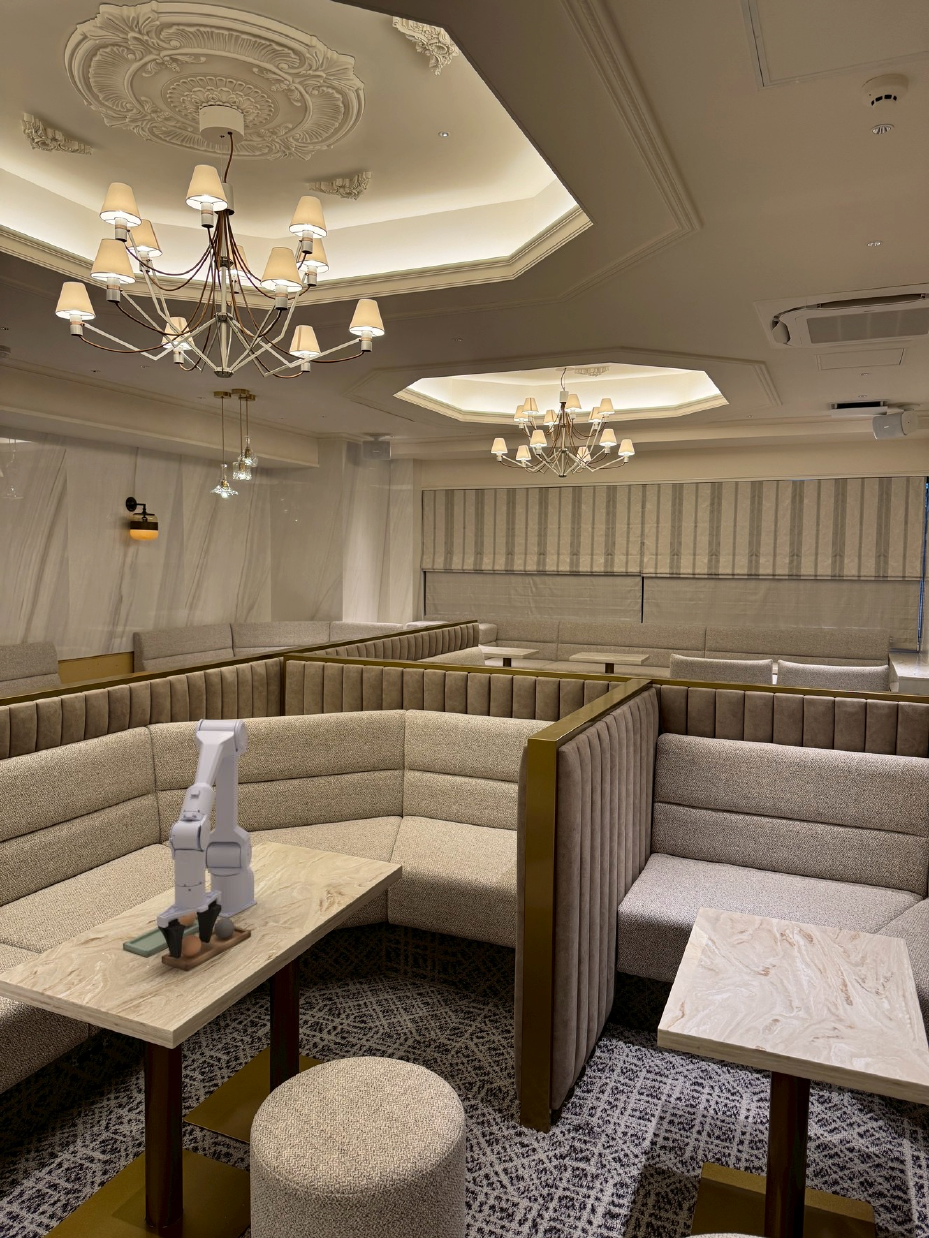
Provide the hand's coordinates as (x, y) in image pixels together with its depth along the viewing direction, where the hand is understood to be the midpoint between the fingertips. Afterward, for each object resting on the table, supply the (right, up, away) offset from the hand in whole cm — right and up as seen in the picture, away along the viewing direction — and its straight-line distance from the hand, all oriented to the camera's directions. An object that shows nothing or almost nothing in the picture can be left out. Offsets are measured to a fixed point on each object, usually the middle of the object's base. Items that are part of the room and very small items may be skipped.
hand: (190, 949), depth 158 cm
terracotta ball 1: (-5, +1, +13) cm, 14 cm away
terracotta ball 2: (0, +1, 0) cm, 1 cm away
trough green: (-8, -1, +9) cm, 12 cm away
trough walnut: (+2, -2, +4) cm, 5 cm away
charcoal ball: (+4, +1, +8) cm, 9 cm away
